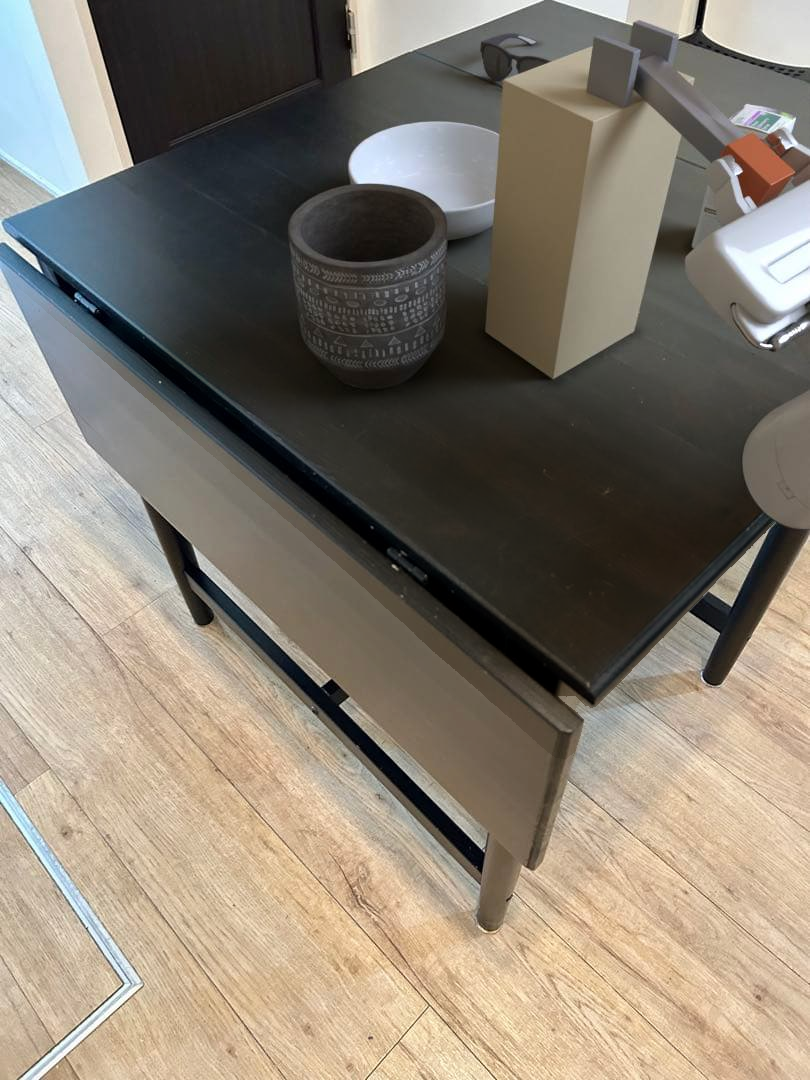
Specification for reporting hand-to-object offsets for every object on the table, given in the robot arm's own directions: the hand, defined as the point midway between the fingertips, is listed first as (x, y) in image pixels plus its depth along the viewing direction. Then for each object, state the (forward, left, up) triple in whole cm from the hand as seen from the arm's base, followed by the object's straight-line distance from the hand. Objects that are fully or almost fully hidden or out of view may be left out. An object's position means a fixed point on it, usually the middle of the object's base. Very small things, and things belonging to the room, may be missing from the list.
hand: (743, 148), depth 61 cm
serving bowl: (+28, -29, -25) cm, 47 cm away
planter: (+29, -1, -25) cm, 38 cm away
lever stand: (+11, -9, -24) cm, 28 cm away
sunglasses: (+20, -74, -25) cm, 81 cm away
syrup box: (-6, -29, -25) cm, 39 cm away
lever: (+3, -2, -1) cm, 4 cm away
